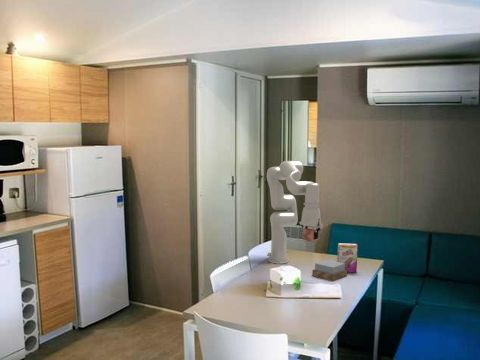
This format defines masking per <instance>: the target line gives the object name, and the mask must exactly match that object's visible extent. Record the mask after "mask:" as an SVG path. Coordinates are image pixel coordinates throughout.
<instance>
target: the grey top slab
mask: <svg viewBox="0 0 480 360" xmlns="http://www.w3.org/2000/svg"><path fill="white" fill-rule="evenodd" d="M314 269H315V270H316V271H320V272H324V273H328V274H332V275H334V274H336V273H339V272H342V271H344V270H345V263H341V262H337V261H335V260H330V259H324V260H322V261H319V262H315V263H314Z"/></svg>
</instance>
